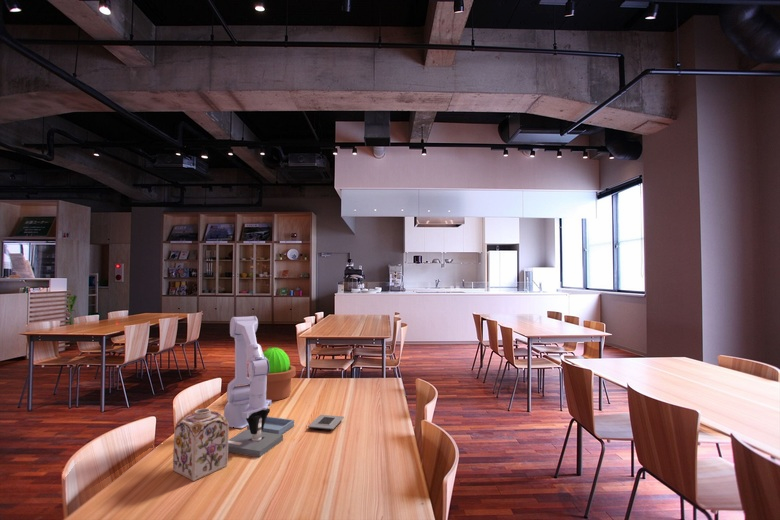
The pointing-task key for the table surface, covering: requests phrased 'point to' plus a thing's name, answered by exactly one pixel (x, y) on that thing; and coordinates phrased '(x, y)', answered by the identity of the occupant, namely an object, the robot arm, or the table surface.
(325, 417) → the electrical outlet
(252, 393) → the robot arm
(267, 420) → the tray
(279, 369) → the potted cactus
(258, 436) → the white light bulb
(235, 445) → the light bulb socket board
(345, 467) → the table surface
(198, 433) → the decorative jar
